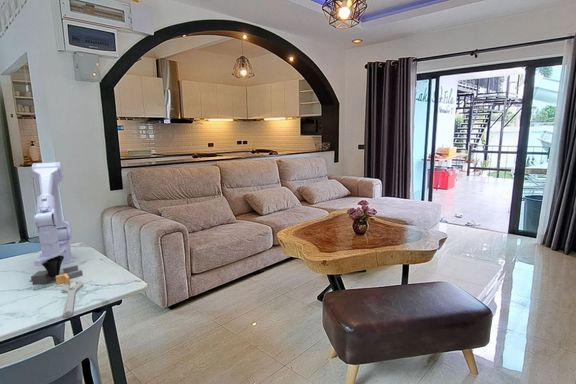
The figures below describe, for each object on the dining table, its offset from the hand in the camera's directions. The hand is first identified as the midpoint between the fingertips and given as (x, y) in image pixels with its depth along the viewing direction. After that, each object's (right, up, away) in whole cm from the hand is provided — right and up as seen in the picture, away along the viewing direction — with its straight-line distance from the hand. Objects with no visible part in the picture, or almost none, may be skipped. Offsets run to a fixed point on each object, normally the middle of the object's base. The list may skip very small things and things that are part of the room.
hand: (54, 276), depth 130 cm
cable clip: (+4, -1, +5) cm, 6 cm away
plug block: (-4, -2, -1) cm, 4 cm away
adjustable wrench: (+15, -5, -15) cm, 22 cm away
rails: (-4, -2, -2) cm, 5 cm away
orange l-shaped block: (+6, -2, -3) cm, 7 cm away
